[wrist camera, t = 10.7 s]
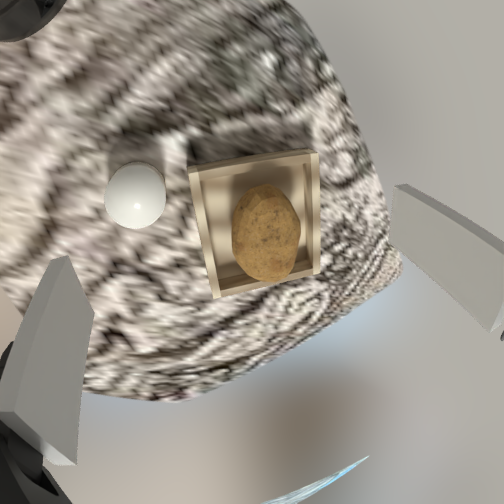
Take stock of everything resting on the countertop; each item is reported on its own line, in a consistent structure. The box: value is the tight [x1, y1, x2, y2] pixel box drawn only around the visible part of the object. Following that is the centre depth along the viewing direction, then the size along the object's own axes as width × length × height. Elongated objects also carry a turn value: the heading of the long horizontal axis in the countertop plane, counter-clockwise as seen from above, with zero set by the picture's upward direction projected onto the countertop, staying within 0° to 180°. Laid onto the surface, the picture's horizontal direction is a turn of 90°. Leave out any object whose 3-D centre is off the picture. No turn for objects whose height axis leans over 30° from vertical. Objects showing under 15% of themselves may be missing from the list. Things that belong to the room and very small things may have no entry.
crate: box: [187, 148, 320, 299], centre depth 45 cm, size 19×17×4 cm
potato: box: [231, 184, 301, 282], centre depth 43 cm, size 10×14×8 cm
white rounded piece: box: [104, 162, 166, 229], centre depth 39 cm, size 8×8×4 cm
